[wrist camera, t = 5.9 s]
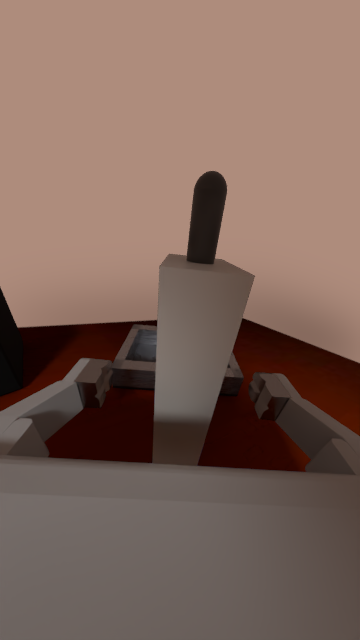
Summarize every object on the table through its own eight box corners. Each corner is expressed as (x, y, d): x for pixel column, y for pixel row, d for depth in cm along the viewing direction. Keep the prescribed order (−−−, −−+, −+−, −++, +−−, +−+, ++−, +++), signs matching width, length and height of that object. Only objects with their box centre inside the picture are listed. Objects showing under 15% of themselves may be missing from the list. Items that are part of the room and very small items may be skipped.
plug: (194, 474, 11) (295, 143, 4) (152, 472, 11) (164, 125, 4) (190, 413, 15) (235, 193, 8) (159, 411, 15) (173, 185, 8)
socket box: (236, 396, 18) (243, 377, 16) (112, 387, 17) (110, 367, 16) (219, 346, 26) (223, 332, 24) (134, 339, 25) (134, 324, 24)
